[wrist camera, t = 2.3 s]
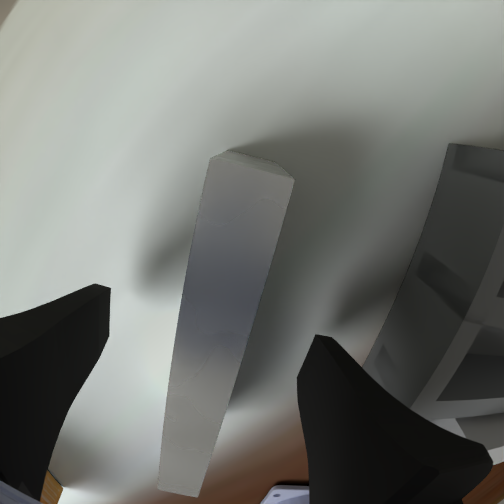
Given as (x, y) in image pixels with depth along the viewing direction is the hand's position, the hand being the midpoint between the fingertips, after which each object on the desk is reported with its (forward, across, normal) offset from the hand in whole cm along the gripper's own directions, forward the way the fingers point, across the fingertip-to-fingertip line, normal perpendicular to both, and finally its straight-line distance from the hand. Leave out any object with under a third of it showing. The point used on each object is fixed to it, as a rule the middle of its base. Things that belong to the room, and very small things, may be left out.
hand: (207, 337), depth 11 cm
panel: (+2, 0, 0) cm, 2 cm away
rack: (+2, -17, -2) cm, 17 cm away
